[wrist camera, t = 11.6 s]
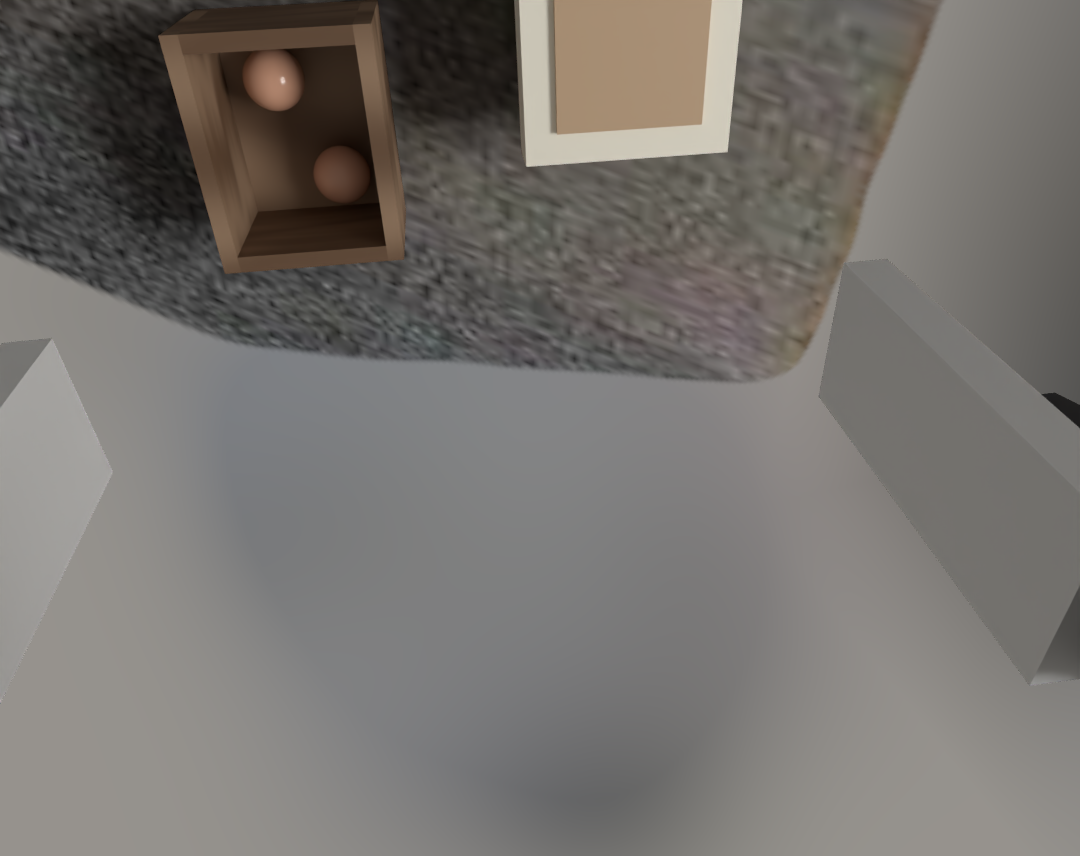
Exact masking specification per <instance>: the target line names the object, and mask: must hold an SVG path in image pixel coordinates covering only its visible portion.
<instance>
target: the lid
mask: <svg viewBox="0 0 1080 856" xmlns="http://www.w3.org/2000/svg"><path fill="white" fill-rule="evenodd" d="M514 7H515V28H516V49H517V71H518V92H519V113H520V134H521V152H522V155H523V158H524V161H525V164H526V167H529V166H543V165H557V164H570V163H584V162H598V161H611V160H625V159H638V158H652V157H666V156H679V155H693V154H707V153H720V152H727V150H728V140H729V130H730V120H731V110H732V100H733V90H734V80H735V70H736V60H737V50H738V40H739V30H740V20H741V10H742V0H514Z"/></svg>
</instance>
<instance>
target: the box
mask: <svg viewBox="0 0 1080 856" xmlns="http://www.w3.org/2000/svg"><path fill="white" fill-rule="evenodd" d="M158 37H159V41H160V44H161V48H162V51H163V55H164V59H165V62H166V66H167V69H168V73H169V76H170V80H171V83H172V87H173V91H174V94H175V98H176V101H177V105H178V108H179V112H180V115H181V119H182V123H183V126H184V130H185V133H186V137H187V140H188V144H189V147H190V151H191V154H192V158H193V162H194V165H195V169H196V172H197V176H198V179H199V183H200V186H201V190H202V194H203V197H204V201H205V204H206V208H207V211H208V215H209V218H210V222H211V226H212V229H213V233H214V236H215V240H216V243H217V247H218V250H219V254H220V258H221V261H222V265H223V268H224V272H225V274H229V273H241V272H254V271H266V270H279V269H291V268H304V267H316V266H329V265H341V264H354V263H366V262H379V261H391V260H404V248H405V221H406V208H405V200H404V193H403V185H402V178H401V170H400V163H399V155H398V148H397V140H396V133H395V125H394V118H393V111H392V103H391V96H390V88H389V81H388V73H387V66H386V58H385V51H384V43H383V36H382V28H381V21H380V13H379V6H378V0H363V1H345V2H327V3H308V4H290V5H272V6H253V7H235V8H217V9H198V10H194V11H192V12H191V13H189V14H188V15H187V16H185V17H184V18H182V19H181V20H180V21H178V22H177V23H175V24H174V25H173V26H171V27H170V28H168V29H167V30H165V31H164V32H163V33H161V34H160V35H158ZM274 49H284V50H286V51H288V52H289V53H291V54H292V55H293V56H294V57H295V58H296V59H297V60H298V62H299V63H300V65H301V67H302V69H303V72H304V76H305V90H304V93H303V96H302V98H301V99H300V101H299V102H298V103H297V104H296V105H295V106H293V107H292V108H290V109H288V110H284V111H271V110H267V109H265V108H263V107H261V106H259V105H258V104H256V103H255V102H254V101H253V100H252V99H251V98H250V96H249V95H248V93H247V92H246V89H245V87H244V84H243V79H242V70H243V66H244V63H245V61H246V59H247V57H248V56H249V55H250V54H251V53H252V52H253V51H257V50H274ZM338 145H342V146H347V147H350V148H353V149H355V150H356V151H358V152H359V153H360V154H361V155H362V156H363V157H364V158H365V160H366V161H367V163H368V166H369V169H370V175H371V178H370V184H369V187H368V189H367V191H366V193H365V194H364V195H363V196H362V197H361V198H360V199H359V200H357V201H355V202H352V203H347V204H341V203H336V202H333V201H331V200H329V199H327V198H326V197H325V196H324V195H323V194H322V193H321V192H320V191H319V190H318V188H317V186H316V184H315V181H314V176H313V170H314V164H315V162H316V159H317V158H318V156H319V155H320V154H321V153H322V152H323V151H324V150H326V149H327V148H330V147H332V146H338Z"/></svg>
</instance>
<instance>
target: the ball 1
mask: <svg viewBox="0 0 1080 856" xmlns="http://www.w3.org/2000/svg"><path fill="white" fill-rule="evenodd" d="M242 79H243V84H244V87H245V89H246V92H247V93H248V95H249V96H250V98H251V99H252V100H253V101H254V102H255V103H256V104H258V105H259V106H261V107H263V108H265V109H267V110H271V111H284V110H288V109H290V108H292V107H293V106H295V105H296V104H297V103H298V102H299V101H300V99H301V98H302V96H303V93H304V90H305V76H304V72H303V69H302V67H301V65H300V63H299V62H298V60H297V59H296V58H295V57H294V56H293V55H292V54H291V53H289V52H288V51H286V50H284V49H274V50H257V51H253V52H252V53H251V54H250V55H249V56H248V57H247V59H246V61H245V63H244V66H243V70H242Z"/></svg>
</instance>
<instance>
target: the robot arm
mask: <svg viewBox="0 0 1080 856" xmlns="http://www.w3.org/2000/svg"><path fill="white" fill-rule="evenodd" d="M819 398H820V399H821V400H822V402H823V403H824V404H825V406H826V407H827V408H828V410H829V411H830V413H831V414H832V415H833V417H834V418H835V420H836V421H837V422H838V424H839V425H840V426H841V428H842V429H843V430H844V432H845V433H846V435H847V436H848V437H849V439H850V440H851V442H852V443H853V444H854V446H855V447H856V448H857V450H858V451H859V452H860V454H861V455H862V457H863V458H864V459H865V461H866V462H867V463H868V465H869V466H870V467H871V469H872V470H873V472H874V473H875V474H876V476H877V477H878V479H879V480H880V481H881V483H882V484H883V485H884V487H885V488H886V490H887V491H888V492H889V494H890V495H891V496H892V498H893V499H894V501H895V502H896V503H897V504H898V506H899V507H900V509H901V510H902V511H903V513H904V514H905V516H906V517H907V518H908V520H909V521H910V522H911V524H912V525H913V527H914V528H915V529H916V531H917V532H918V533H919V535H920V536H921V538H922V539H923V540H924V542H925V543H926V544H927V546H928V547H929V549H930V550H931V551H932V553H933V554H934V555H935V557H936V558H937V559H938V561H939V562H940V563H941V565H942V566H943V568H944V569H945V570H946V572H947V573H948V574H949V576H950V577H951V578H952V580H953V581H954V583H955V584H956V586H957V587H958V588H959V590H960V591H961V592H962V594H963V595H964V597H965V598H966V599H967V601H968V602H969V603H970V605H971V606H972V608H973V609H974V610H975V612H976V613H977V614H978V616H979V617H980V618H981V620H982V621H983V623H984V624H985V625H986V627H987V628H988V629H989V631H990V632H991V633H992V635H993V636H994V638H995V639H996V640H997V641H998V643H999V645H1000V646H1001V647H1002V649H1003V650H1004V651H1005V653H1006V654H1007V656H1008V657H1009V658H1010V660H1011V661H1012V662H1013V664H1014V665H1015V666H1016V668H1017V669H1018V671H1019V672H1020V673H1021V675H1022V676H1023V677H1024V679H1025V680H1026V682H1027V683H1028V684H1029V686H1032V685H1039V684H1046V683H1054V682H1061V681H1068V680H1075V679H1080V405H1078V404H1077V403H1075V402H1072V401H1071V400H1069V399H1066V398H1065V397H1062V396H1061V395H1058V394H1056V393H1048V394H1040V393H1039V392H1038V391H1037V390H1036V389H1034V388H1033V387H1032V386H1031V385H1030V384H1029V383H1028V382H1027V381H1025V380H1024V379H1023V378H1022V377H1020V375H1019V374H1017V373H1016V372H1015V371H1014V370H1013V369H1012V368H1011V367H1009V366H1008V365H1007V364H1006V363H1005V362H1004V361H1003V360H1001V359H1000V358H999V357H998V356H997V355H996V354H994V353H993V352H992V351H991V350H990V349H989V348H988V347H987V346H986V345H984V344H983V343H982V342H981V341H980V340H979V339H978V338H976V337H975V336H974V335H973V334H972V333H971V332H970V331H968V330H967V329H966V328H965V327H963V325H962V324H960V323H959V322H958V321H957V320H956V319H955V318H953V317H952V316H951V315H950V314H949V313H948V312H947V311H946V310H945V309H943V308H942V307H941V306H940V305H939V304H938V303H937V302H935V301H934V300H933V299H932V298H931V297H930V296H929V295H928V294H926V293H925V292H924V291H923V290H922V289H920V288H919V287H918V286H917V285H916V284H915V283H914V282H913V281H912V280H910V279H909V278H908V277H907V276H906V275H905V274H904V273H902V272H901V271H900V270H899V269H898V268H897V267H896V266H895V265H893V264H892V263H891V262H890V261H889V260H888V259H879V260H869V261H859V262H848V263H844V266H843V271H842V276H841V281H840V287H839V292H838V297H837V302H836V308H835V313H834V318H833V323H832V329H831V334H830V339H829V344H828V350H827V355H826V360H825V366H824V371H823V376H822V381H821V386H820V392H819ZM112 473H113V471H112V469H111V467H110V464H109V462H108V460H107V458H106V456H105V453H104V451H103V449H102V447H101V445H100V442H99V440H98V438H97V436H96V434H95V432H94V429H93V427H92V425H91V423H90V421H89V418H88V416H87V414H86V412H85V409H84V407H83V405H82V403H81V401H80V398H79V396H78V394H77V392H76V390H75V387H74V385H73V383H72V381H71V379H70V376H69V375H68V372H67V370H66V368H65V366H64V363H63V361H62V359H61V357H60V355H59V352H58V350H57V348H56V346H55V344H54V341H53V339H52V338H51V339H39V340H29V341H18V342H9V343H2V344H1V345H0V703H1V701H2V699H3V697H4V695H5V693H6V691H7V689H8V687H9V685H10V683H11V681H12V679H13V677H14V675H15V673H16V670H17V668H18V666H19V664H20V662H21V660H22V658H23V656H24V654H25V652H26V650H27V648H28V646H29V643H30V641H31V640H32V638H33V636H34V633H35V631H36V629H37V627H38V625H39V623H40V621H41V619H42V617H43V615H44V613H45V611H46V609H47V607H48V605H49V603H50V601H51V599H52V596H53V594H54V592H55V590H56V588H57V586H58V584H59V582H60V580H61V578H62V576H63V574H64V572H65V570H66V568H67V565H68V564H69V562H70V560H71V558H72V555H73V553H74V551H75V549H76V547H77V545H78V543H79V541H80V539H81V537H82V535H83V533H84V531H85V529H86V527H87V525H88V523H89V521H90V519H91V516H92V514H93V512H94V510H95V508H96V506H97V504H98V502H99V500H100V498H101V496H102V494H103V492H104V490H105V488H106V486H107V484H108V482H109V479H110V477H111V475H112Z"/></svg>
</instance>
